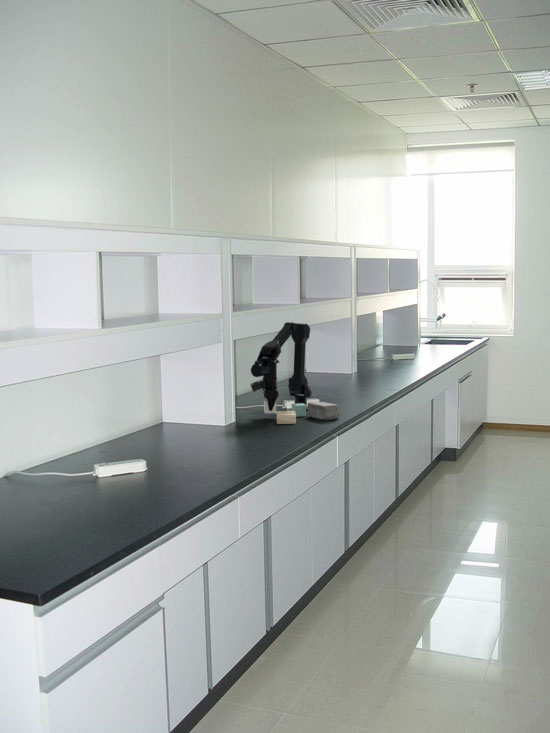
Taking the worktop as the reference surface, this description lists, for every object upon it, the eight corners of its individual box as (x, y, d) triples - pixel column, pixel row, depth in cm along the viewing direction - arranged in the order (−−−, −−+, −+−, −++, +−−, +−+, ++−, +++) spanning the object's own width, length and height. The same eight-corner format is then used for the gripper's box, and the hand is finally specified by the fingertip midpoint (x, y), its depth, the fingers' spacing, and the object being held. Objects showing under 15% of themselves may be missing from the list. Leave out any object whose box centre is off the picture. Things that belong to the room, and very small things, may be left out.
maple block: (276, 420, 350) (276, 411, 349) (295, 420, 350) (295, 411, 349) (277, 424, 342) (276, 415, 341) (295, 424, 342) (295, 414, 341)
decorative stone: (333, 422, 345) (342, 417, 354) (333, 406, 344) (342, 402, 353) (302, 419, 352) (312, 414, 361) (302, 404, 351) (312, 399, 360)
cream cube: (264, 411, 354) (264, 399, 354) (275, 410, 355) (275, 399, 354) (264, 413, 349) (264, 401, 349) (276, 413, 350) (276, 401, 349)
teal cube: (291, 414, 361) (291, 403, 360) (302, 414, 362) (302, 403, 362) (295, 416, 356) (295, 405, 355) (306, 416, 358) (306, 405, 357)
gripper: (250, 371, 358) (250, 405, 361) (252, 377, 340) (252, 414, 342) (275, 371, 359) (275, 405, 361) (278, 377, 341) (278, 413, 343)
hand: (270, 409), depth 352 cm, fingers closed on cream cube, 5 cm apart
